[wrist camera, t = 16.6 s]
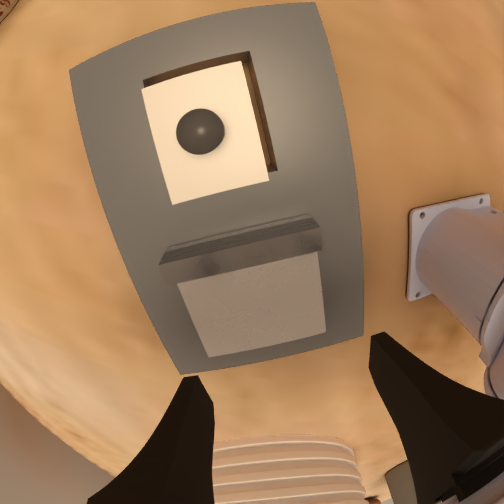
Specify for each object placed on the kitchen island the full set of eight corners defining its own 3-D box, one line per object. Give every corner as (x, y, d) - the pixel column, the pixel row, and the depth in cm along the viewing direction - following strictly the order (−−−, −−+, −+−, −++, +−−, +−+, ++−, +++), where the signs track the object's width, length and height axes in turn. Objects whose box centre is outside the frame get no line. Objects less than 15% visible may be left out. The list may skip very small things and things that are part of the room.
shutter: (309, 213, 15) (320, 227, 13) (323, 326, 18) (332, 348, 16) (167, 247, 15) (158, 265, 13) (209, 351, 19) (207, 374, 17)
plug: (238, 85, 14) (241, 50, 8) (257, 164, 16) (274, 188, 10) (172, 102, 15) (128, 84, 8) (192, 180, 17) (163, 215, 10)
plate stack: (139, 445, 30) (127, 514, 19) (350, 409, 28) (378, 490, 17) (216, 498, 41) (217, 542, 30) (352, 473, 39) (365, 519, 29)
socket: (304, 17, 13) (315, 2, 10) (352, 315, 22) (363, 335, 19) (88, 75, 13) (69, 70, 11) (184, 352, 22) (180, 374, 20)
